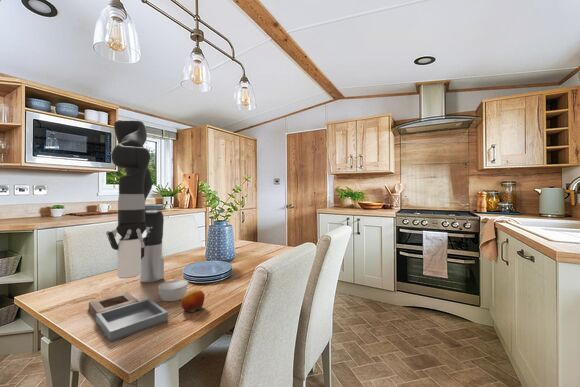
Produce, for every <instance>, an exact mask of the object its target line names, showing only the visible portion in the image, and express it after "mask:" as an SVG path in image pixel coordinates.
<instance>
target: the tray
mask: <svg viewBox="0 0 580 387" xmlns="http://www.w3.org/2000/svg"><path fill="white" fill-rule="evenodd" d="M138 301H139V302H135V303H132V304H128V305H125V306H121V307H118V308H114V309H111V310H108V311H104V312H101V313H97V314H96V317H95V324H96V325H97V326H98V328H99V329H100V331H101V332H102V333H103V335H104V336H105V337H106V339H107V340H108V342H109V343H113V342H115V341H118V340H121V339H123V338H126V337H129V336H132V335H134V334H137V333H140V332H143V331H145V330H147V329H151V328H153V327H156V326H159V325H161V324H164V323H166V322H168V321H169V319H168V318H169V317H168V316H169V312H168V311H167V310H166V309H164V308H163V307H161V306H160V305H159V304H157V303H156V302H155V301H153V300H152V299H150V298H146V299H143V300H138Z"/></svg>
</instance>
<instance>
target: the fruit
mask: <svg viewBox="0 0 580 387" xmlns="http://www.w3.org/2000/svg"><path fill="white" fill-rule="evenodd" d="M205 296H206V295H205V292H204V291H202V290H201V289H191V290H190V291H189V292H188V291H187V292H186V294H185V295H184V296H183V297H182V299H180V304H181V308H182V309H183V311H185V312H188V313H190V312H191V313H195V312H196V310H199V309H203V310H204V308H203V306H204V304H205V303H204V302H205V299H206V298H205Z"/></svg>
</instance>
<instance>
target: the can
mask: <svg viewBox="0 0 580 387" xmlns="http://www.w3.org/2000/svg"><path fill="white" fill-rule="evenodd" d="M118 240H119V241H118V242H117V245H118V250H116V252H117V254H116V255H117V257H116V259H117V262H116V263H117V268H116V270H117V271H116V272H117V277H118V278H119V279H131V278H132V279H133V278H136V277H138V276H140V273H141V242H140V240H139V238H138V239H129V240H124V239H122V240H121V237H120V238H119V239H118Z"/></svg>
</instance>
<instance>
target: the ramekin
mask: <svg viewBox="0 0 580 387" xmlns="http://www.w3.org/2000/svg"><path fill="white" fill-rule="evenodd" d="M188 286H189V281H187V280H186V279H185V280H184V279H173V280H168V281H163V282H162V283H160V284H158V287H157V290H158V293H159V298H160V300H161V301H163V302H175V301H179V300H180V301H181V299H182V297H183V296H184V295H185V294H186V293H188Z"/></svg>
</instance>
